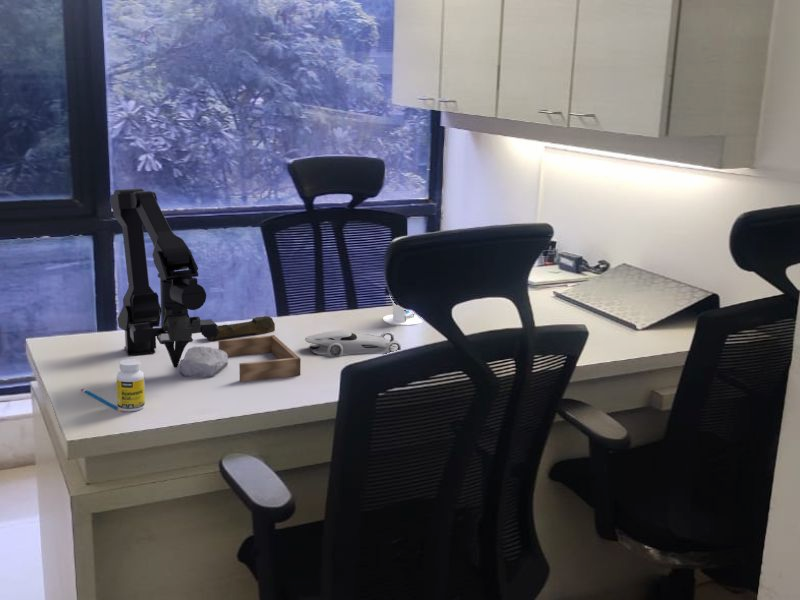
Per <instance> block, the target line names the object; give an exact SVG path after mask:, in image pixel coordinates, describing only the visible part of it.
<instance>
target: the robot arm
mask: <svg viewBox="0 0 800 600" xmlns="http://www.w3.org/2000/svg"><path fill="white" fill-rule="evenodd" d="M109 205H110V208H111V209H112V214H113V218H115V220H116V221H117V222H118V224H119V225H120V226H121V230H122V236H123V247H124V255H125V265H126V266H125V267H126V275H127V285H128V287H127V290H126V292H125V294H124V296H123V299H122V303H123V305H122V308H121V310H120V312H119V315H118V317H117V323H118V325H117V326H118V328H120V329H121V330H123V331H124V339H125V340H124V341H125V346H124V348H123V349H124V351H125V352H126V355H128V356H137V355H149V354H155V353H156V349H157V341H158V343H159V344H160V345H164V346H165V348H166V351H167V354H168V356H169V358H170V361H171V364H172V367H173V368H174V369H177V368H178V367H179V365H180V361H181V358H182V355H183V352H184V350H185V348H186V346H187V345H188V344H189V343H193V341H194V339H193V337H192V336H193V334H201V335H202V337H204V338H206V337H217V336H219V329H218V326H219V325H218V324H217V323H216V322H215V321H214V320H213V319H210V318H209V319H201V318H200V316H191V317H190V315H189V310H190V311H196V310H199V309H200V308H202V307H203V306H204V304H205V303H206V299H207V293H206V289H205V288H204V287H203V286H202V285H200V284H198V279H197V278H196V277H199V272H198V271H199V267H198V264H197V262H196V259H194V255H193V254H192V251H191V248H189V247H188V244H187V243H186V242H185V241H184V239H183V238H181V237H180V236H178V235H176V234H174V232H173V230H172V227H170V225H169V223H168V220H167V219H166V217H165V215H164V213H163V211H162V209H161V207H160V205H159V203H158V198H157V194H156V192H155V191H151V190H146V191H145V190H143V188H123V189H122V188H121V189H120V188H119V189H114V192H113V194H110V197H109ZM144 228H145V230H146V232H147V234H148V236H149V238H150V240H151V243H152V244H153V251H152V254H151V255H152V258H153V259H152V261H153V264H154V266H155V268H156V270H157V271H158V274H157V277H158V278H159V279H160V281H159V282H160V284H159V285H160V286H159V287H160V300H159V294H158V293H157V292H155V291H154V290H153V289H152V287H151V286H150V280H149V272H148V264H147V262H148V261H147V253H146V245H145V234H144ZM159 301H160V302H159ZM160 322H161V324H160ZM160 325H161V327H159V326H160ZM206 339H207V338H206Z"/></svg>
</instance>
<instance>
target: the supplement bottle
mask: <svg viewBox="0 0 800 600" xmlns="http://www.w3.org/2000/svg"><path fill="white" fill-rule="evenodd" d="M140 369H141V361H140V360H138V359H134V358H128V359H123V360H121V361H120V362H119V370H120V371H118V372H117V374H116V378H115V379H116V400H117V401H116V406H117V407H118V408H119V409H120V410H122V411H123V412H127V413H128V412H137V411H140V410H142V409H144V408H145V406H146V405H145V403H146V402H145V395H146V394H145V393H146V392H145V391H146V390H145V374H144V371H142V370H140Z"/></svg>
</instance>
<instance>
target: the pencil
mask: <svg viewBox="0 0 800 600" xmlns="http://www.w3.org/2000/svg"><path fill="white" fill-rule="evenodd" d="M80 391H81V392H83V393H84V394H86V395H88V396H89V397H92V398H94V399H96V400H97V401H99V402H100V403H103V404H105V405H106V406H108V407H110V408H112V409H114V410H115V411H119V412H121V413H124V411H122V410H120V409H119V408H118V407H117V405H115V404H113V403H111V402H109V401H108V400H106V399H104V398H102V397H100V396H99V395H96V394H95V393H93V392H91V391H89V390H87V389H85V388H81V390H80Z"/></svg>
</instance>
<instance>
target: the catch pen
mask: <svg viewBox="0 0 800 600" xmlns="http://www.w3.org/2000/svg"><path fill="white" fill-rule="evenodd" d="M217 342H218V349H220V350H222V351H224V352H226V353H227V356H228V357H235V356H237V357H238V356H245V355H257V354H265V353H272V355H274V356H275V358H277V359H269V360H259V361H258V360H257V361H249V362H241V363H239V365H238V367H239V381H240V383H241V382H250V381H259V380H269V379H278V378H286V377H293V376H296V377H297V376H301V361H302V360H301V357H300V356H298V355H297V354H296V353H295V352H294V351H293V350H292V349H291V348H290V347H288V346H287V345H286V344H285V343H284V342H283V341H281V340H280V338H278V336H276V335H273V334H272V335H262V336H261V335H259V336H252V337H249V336H248V337H239V338H230V339H217Z"/></svg>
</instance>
